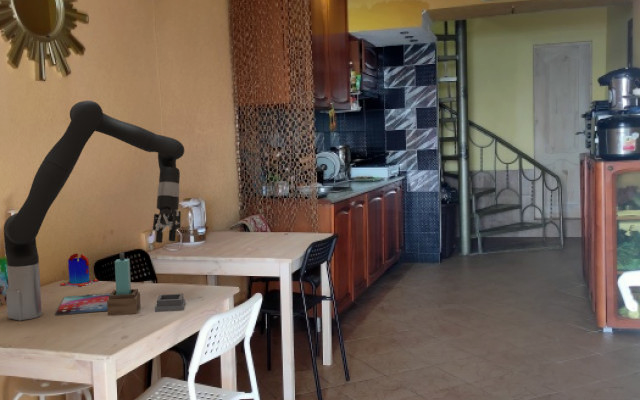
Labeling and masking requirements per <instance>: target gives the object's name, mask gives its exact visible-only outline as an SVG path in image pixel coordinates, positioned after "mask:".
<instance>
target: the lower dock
mask: <svg viewBox="0 0 640 400" xmlns="http://www.w3.org/2000/svg"><path fill="white" fill-rule="evenodd" d="M184 297H185V296H184V293H169V294H167V293H166V294H165V293H164V294H159V295H158V297H157V299H156V303H155V306H154V310H155V313H157V312H175V311H176V312H178V311H184V310H185V309H184V308H185V306H186V298H184Z"/></svg>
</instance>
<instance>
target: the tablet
mask: <svg viewBox="0 0 640 400" xmlns="http://www.w3.org/2000/svg"><path fill="white" fill-rule="evenodd" d="M111 293H112V292H110V293H95V294H94V293H93V294H85V295H71V296H70V295H68V296H64V297H63V298H62V300H61V301H60V304H59V305H58V307H57V308H56V309H57V310H56V311H55V312H54V316H68V315H71V316H72V315H83V314H93V313H95V314H96V313H105V312H107V313H108V309H107V300H108V298H109V295H110V294H111Z"/></svg>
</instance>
